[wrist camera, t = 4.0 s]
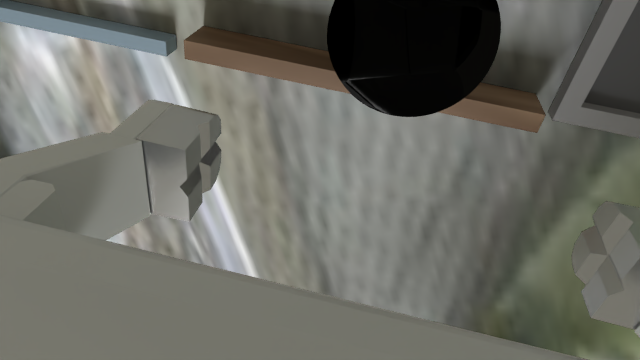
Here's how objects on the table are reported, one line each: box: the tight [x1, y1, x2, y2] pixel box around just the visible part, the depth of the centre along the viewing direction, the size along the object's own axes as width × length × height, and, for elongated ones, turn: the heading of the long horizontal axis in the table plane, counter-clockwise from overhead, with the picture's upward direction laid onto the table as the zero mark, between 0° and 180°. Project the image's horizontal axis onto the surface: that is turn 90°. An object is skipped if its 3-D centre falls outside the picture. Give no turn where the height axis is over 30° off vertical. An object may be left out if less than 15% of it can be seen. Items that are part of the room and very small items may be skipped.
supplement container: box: [327, 0, 501, 117], centre depth 22 cm, size 7×7×10 cm
